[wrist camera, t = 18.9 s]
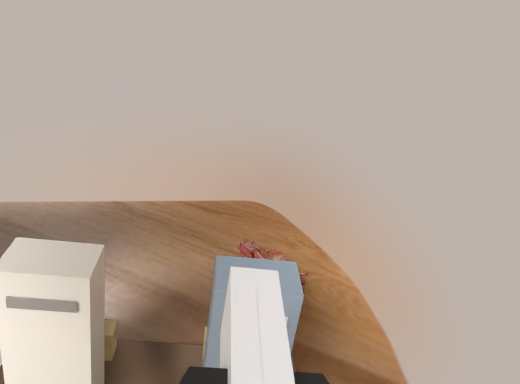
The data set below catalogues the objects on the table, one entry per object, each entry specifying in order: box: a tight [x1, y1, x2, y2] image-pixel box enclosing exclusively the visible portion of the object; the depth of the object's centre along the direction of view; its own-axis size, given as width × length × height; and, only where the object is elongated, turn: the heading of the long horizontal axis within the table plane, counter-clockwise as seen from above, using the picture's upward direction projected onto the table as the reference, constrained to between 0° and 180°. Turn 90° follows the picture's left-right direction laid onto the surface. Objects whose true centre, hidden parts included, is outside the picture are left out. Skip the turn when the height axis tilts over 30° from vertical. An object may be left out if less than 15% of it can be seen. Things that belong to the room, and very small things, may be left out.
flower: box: [238, 239, 308, 294], centre depth 54 cm, size 10×9×8 cm
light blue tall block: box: [203, 255, 304, 368], centre depth 36 cm, size 6×4×14 cm
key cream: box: [0, 237, 105, 384], centre depth 34 cm, size 6×4×14 cm
